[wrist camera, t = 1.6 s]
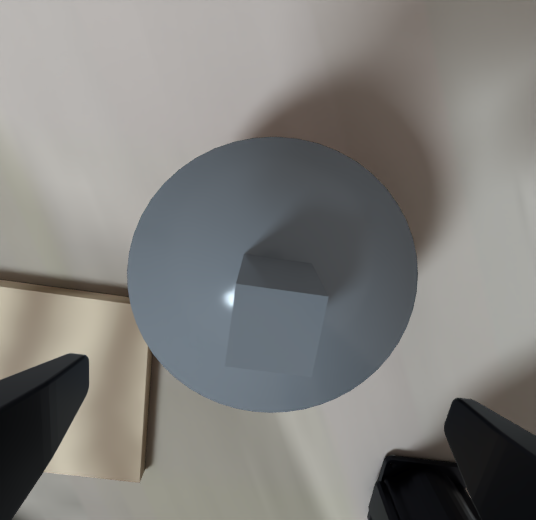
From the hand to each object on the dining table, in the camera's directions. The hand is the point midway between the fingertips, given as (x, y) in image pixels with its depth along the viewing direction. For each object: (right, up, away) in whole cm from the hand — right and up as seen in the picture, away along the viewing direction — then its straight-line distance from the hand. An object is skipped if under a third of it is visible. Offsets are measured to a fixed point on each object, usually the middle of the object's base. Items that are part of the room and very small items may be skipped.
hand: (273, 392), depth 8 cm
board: (-16, -5, +15) cm, 23 cm away
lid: (0, +2, +8) cm, 8 cm away
